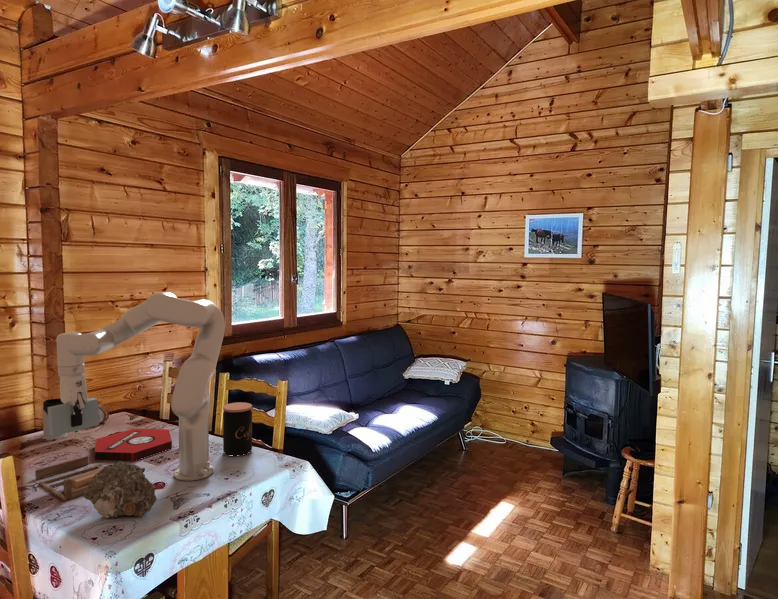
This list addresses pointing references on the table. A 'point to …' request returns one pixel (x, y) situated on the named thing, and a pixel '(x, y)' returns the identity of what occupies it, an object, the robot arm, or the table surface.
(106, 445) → the red flat hexagonal block
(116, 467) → the rock
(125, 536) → the table surface
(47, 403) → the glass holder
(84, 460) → the rack
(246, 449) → the coffee jar
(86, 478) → the offcut top
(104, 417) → the tin
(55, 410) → the grey-green rectangular block
